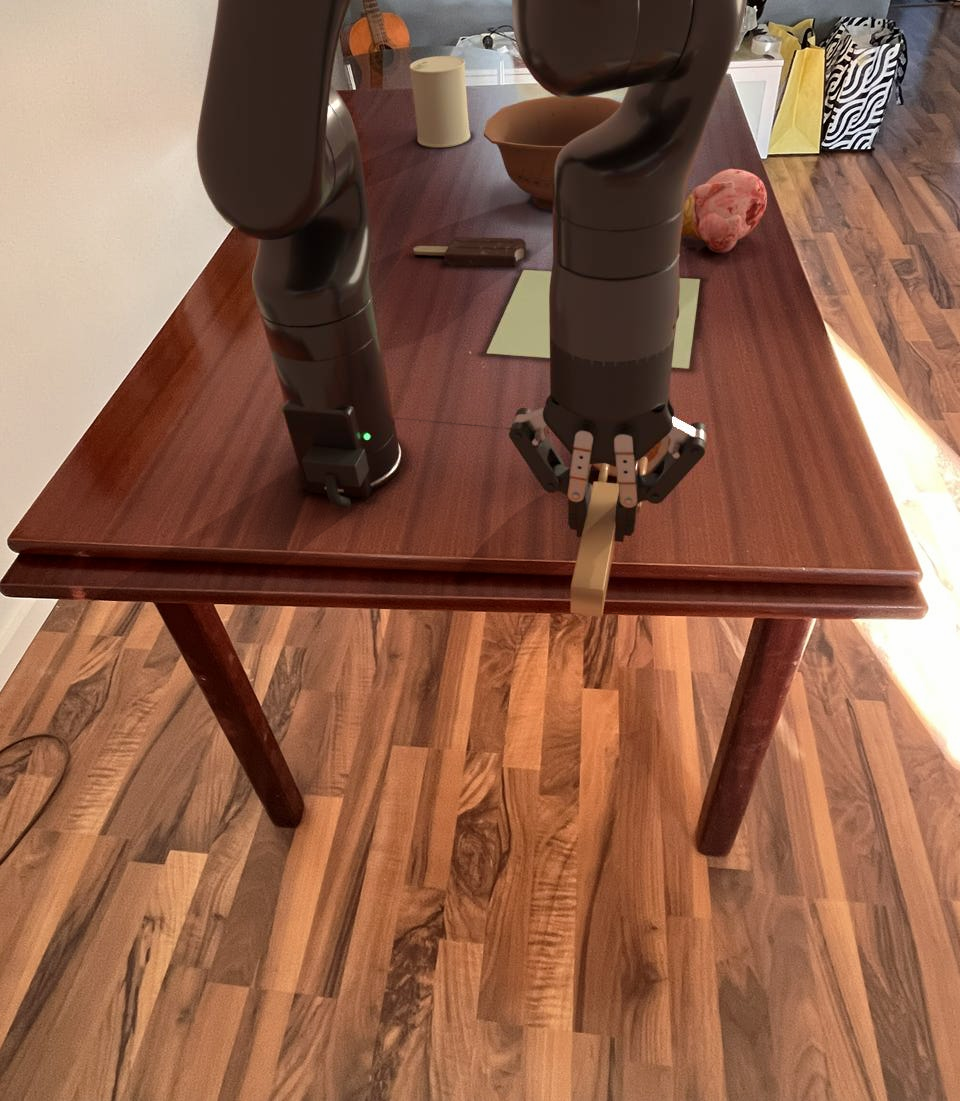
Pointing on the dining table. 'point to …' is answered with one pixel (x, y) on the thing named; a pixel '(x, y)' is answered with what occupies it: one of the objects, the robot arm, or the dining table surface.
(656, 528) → the dining table surface
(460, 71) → the can
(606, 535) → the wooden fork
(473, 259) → the ice cream bar
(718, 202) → the ice cream
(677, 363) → the placemat
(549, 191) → the bowl
